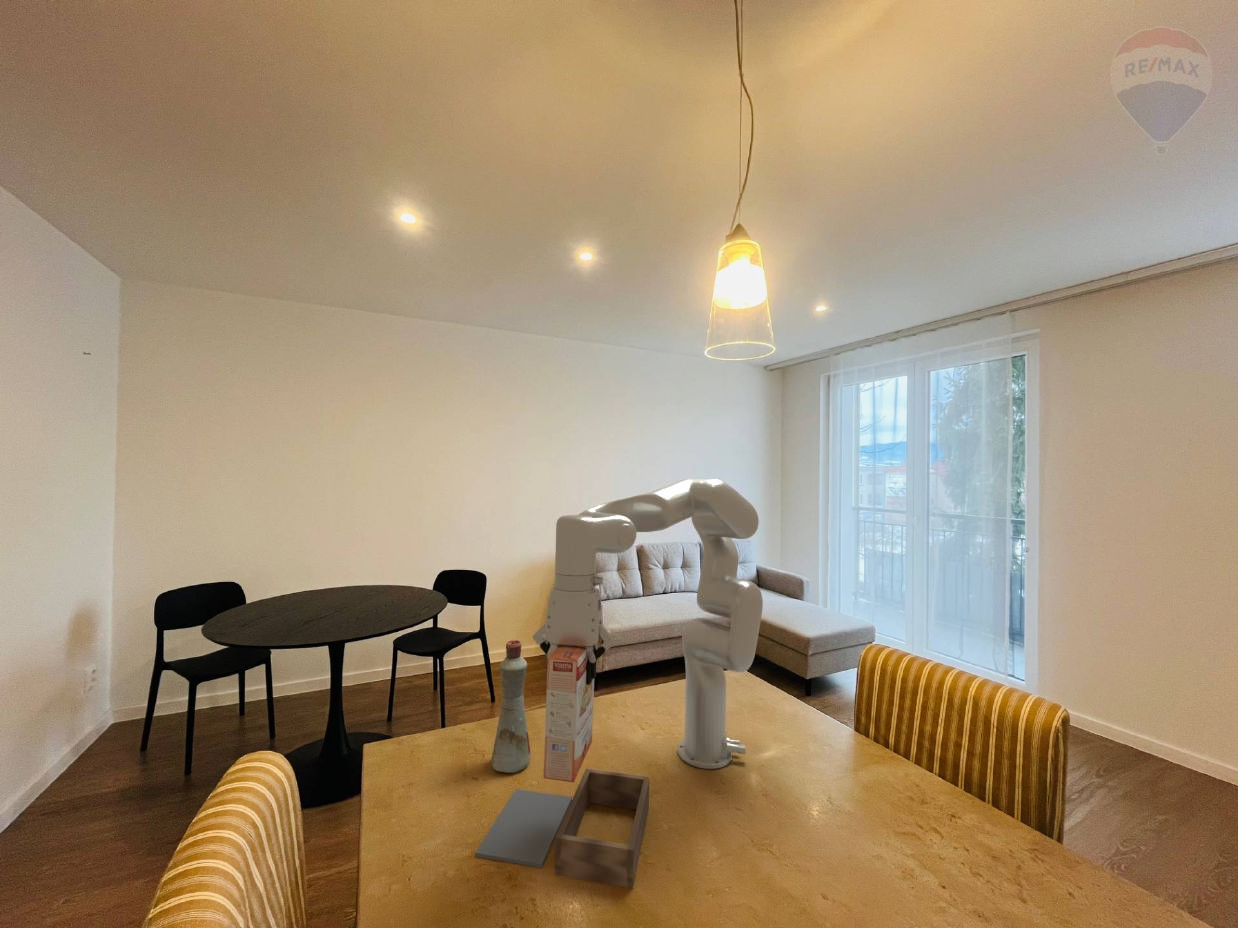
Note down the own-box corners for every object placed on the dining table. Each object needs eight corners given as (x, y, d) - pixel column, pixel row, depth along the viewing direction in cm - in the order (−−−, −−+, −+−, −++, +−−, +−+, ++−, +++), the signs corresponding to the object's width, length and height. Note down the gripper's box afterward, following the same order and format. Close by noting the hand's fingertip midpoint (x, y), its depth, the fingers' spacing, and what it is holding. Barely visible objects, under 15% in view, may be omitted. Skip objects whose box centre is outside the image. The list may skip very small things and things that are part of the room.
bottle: (481, 770, 111) (485, 642, 111) (505, 750, 119) (509, 631, 120) (515, 780, 107) (518, 648, 108) (537, 758, 116) (540, 636, 117)
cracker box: (576, 784, 85) (579, 659, 85) (542, 780, 86) (545, 656, 86) (594, 742, 98) (597, 634, 99) (565, 738, 100) (567, 632, 100)
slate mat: (571, 799, 101) (572, 796, 101) (541, 867, 83) (541, 863, 84) (515, 791, 103) (515, 788, 103) (474, 856, 86) (475, 852, 86)
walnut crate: (648, 807, 99) (649, 776, 99) (632, 888, 80) (633, 850, 80) (585, 798, 102) (585, 768, 102) (554, 874, 82) (555, 837, 82)
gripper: (623, 580, 95) (621, 676, 95) (536, 575, 98) (534, 668, 98) (617, 589, 88) (614, 693, 87) (523, 583, 91) (520, 684, 90)
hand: (572, 679), depth 93 cm, fingers closed on cracker box, 5 cm apart
